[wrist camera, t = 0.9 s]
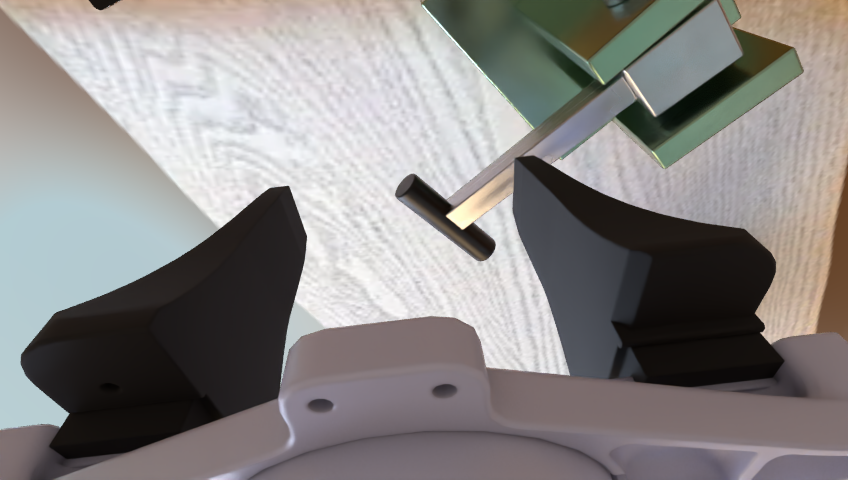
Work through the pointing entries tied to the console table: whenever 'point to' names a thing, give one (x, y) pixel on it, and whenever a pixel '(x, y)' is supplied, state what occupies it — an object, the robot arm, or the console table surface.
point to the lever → (585, 121)
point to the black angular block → (103, 3)
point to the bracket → (608, 62)
